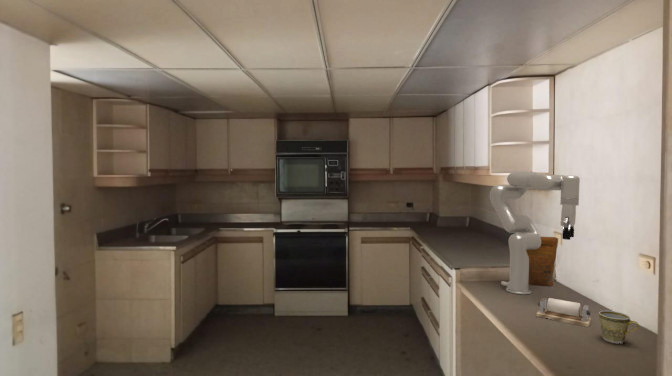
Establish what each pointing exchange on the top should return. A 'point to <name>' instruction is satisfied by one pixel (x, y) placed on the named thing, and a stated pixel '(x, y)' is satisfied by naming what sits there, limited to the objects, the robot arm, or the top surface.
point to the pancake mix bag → (542, 262)
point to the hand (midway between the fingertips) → (568, 238)
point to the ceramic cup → (615, 326)
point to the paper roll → (563, 307)
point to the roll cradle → (581, 320)
